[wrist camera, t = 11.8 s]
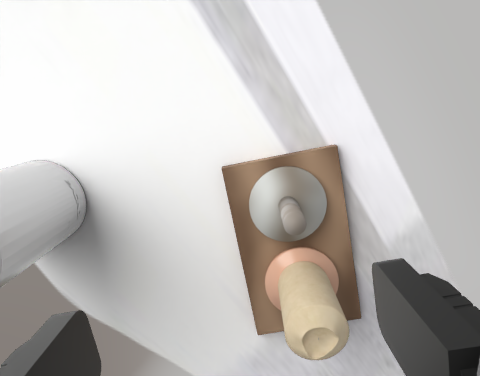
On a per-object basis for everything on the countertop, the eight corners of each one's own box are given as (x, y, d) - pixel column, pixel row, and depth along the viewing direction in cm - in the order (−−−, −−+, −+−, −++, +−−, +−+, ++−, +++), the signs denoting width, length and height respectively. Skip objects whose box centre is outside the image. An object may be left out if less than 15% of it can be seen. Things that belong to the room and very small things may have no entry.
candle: (312, 313, 40) (332, 382, 31) (268, 293, 40) (274, 356, 30) (337, 273, 39) (366, 332, 29) (292, 251, 38) (307, 304, 29)
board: (257, 328, 43) (259, 378, 35) (222, 166, 39) (215, 182, 31) (358, 312, 42) (383, 359, 34) (334, 144, 38) (356, 155, 30)
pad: (271, 317, 41) (272, 321, 41) (258, 253, 40) (258, 256, 39) (341, 305, 41) (343, 309, 40) (331, 240, 39) (333, 243, 38)
